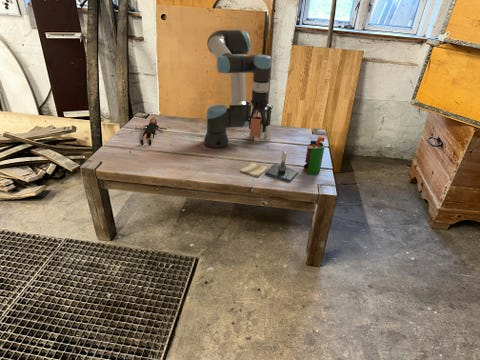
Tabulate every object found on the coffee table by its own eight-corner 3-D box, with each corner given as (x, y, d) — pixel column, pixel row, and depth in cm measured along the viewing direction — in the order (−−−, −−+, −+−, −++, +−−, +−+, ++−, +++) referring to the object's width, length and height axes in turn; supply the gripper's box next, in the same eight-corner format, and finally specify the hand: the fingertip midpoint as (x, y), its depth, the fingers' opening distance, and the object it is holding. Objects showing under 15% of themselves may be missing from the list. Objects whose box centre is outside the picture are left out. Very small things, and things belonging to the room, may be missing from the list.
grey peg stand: (265, 174, 169) (267, 153, 162) (274, 166, 177) (276, 145, 171) (289, 182, 163) (293, 160, 157) (297, 173, 171) (301, 152, 165)
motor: (301, 165, 179) (306, 132, 168) (316, 165, 180) (323, 132, 169) (305, 175, 170) (312, 140, 160) (322, 175, 171) (329, 140, 161)
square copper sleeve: (250, 135, 161) (251, 118, 156) (254, 132, 164) (256, 115, 160) (258, 137, 158) (260, 120, 154) (263, 134, 162) (265, 117, 158)
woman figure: (127, 139, 188) (137, 116, 217) (129, 148, 191) (138, 124, 220) (163, 139, 190) (168, 116, 219) (163, 148, 193) (169, 124, 222)
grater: (270, 141, 205) (273, 111, 195) (254, 140, 205) (256, 110, 195) (269, 135, 214) (272, 106, 204) (253, 134, 214) (256, 105, 204)
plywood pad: (240, 171, 170) (240, 169, 170) (249, 163, 178) (250, 161, 178) (258, 177, 166) (258, 175, 165) (267, 168, 174) (267, 167, 173)
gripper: (239, 88, 151) (237, 134, 163) (274, 95, 143) (269, 143, 155) (247, 85, 156) (244, 130, 168) (281, 92, 149) (276, 138, 161)
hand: (256, 136), depth 162 cm, fingers closed on square copper sleeve, 5 cm apart
